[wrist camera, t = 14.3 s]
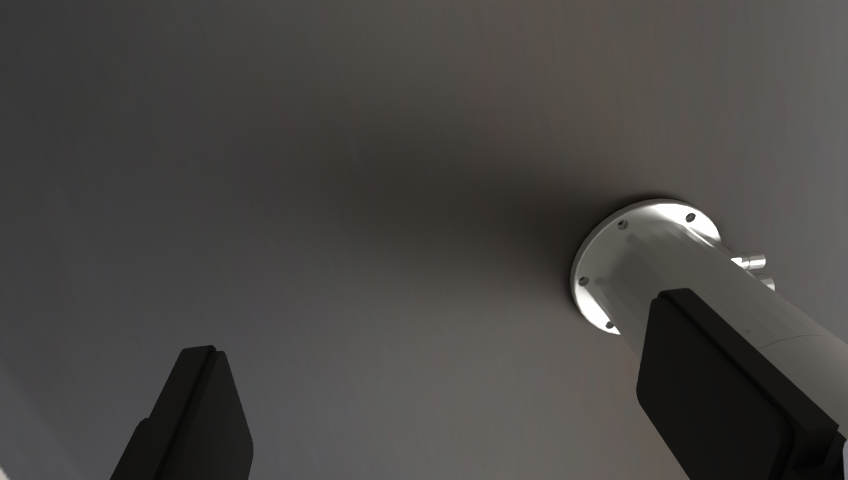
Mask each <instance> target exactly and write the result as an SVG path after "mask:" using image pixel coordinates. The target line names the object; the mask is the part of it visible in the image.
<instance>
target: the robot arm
mask: <svg viewBox="0 0 848 480" xmlns="http://www.w3.org/2000/svg"><path fill="white" fill-rule="evenodd" d="M764 265H765V257H764V255H763V254H762V253H761V252H759V251H754V252H745V253H741V254H734V253H733V252H732V251H730V250H729V249H727V248H726V247H725V246H723V245H722V244H721V238H720V235H719V233H718V230H717V228H716V226H715V225H714V224H713V222H712V221H711V220H710V218H709V217H708V216H706V215H705V214H704V213H702V212H701V211H700V210H698V209H697V208H695V207H693V206H691V205H690V204H688V203H685V202H682V201H678V200H675V199H662V198H660V199H651V200H645V201H641V202H638V203H634V204H631V205H629V206H627V207H624V208H622V209H620V210H618V211H616V212H615V213H613V214H612V215H610V216H609V217H607V218H606V219H604V220H603V221H602V222H601V223H600V224H599V225H598V226H597V227H596V228H594V229H593V230H592V232H591V233H590V234H589V235H588V237H587V238H586V239H585V240H584V242H583V243H582V245H581V247H580V248H579V250H578V252H577V254H576V256H575V259H574V262H573V265H572V269H571V276H570V286H571V293H572V296H573V299H574V302H575V304H576V305H577V307H578V309H579V310H580V312H581V313H582V314H583V316H584V317H585V318H586V319H587V320H588V321H589V322H590V323H591V324H593V325H594V326H595V327H597V328H599V329H601V330H603V331H606V332H609V333H614V334H618V335H621V336H622V337H623V338H624V340H625V341H626V342H627V344H628V345H629V346H630V348H631V349H632V350H633V352H634V353H635V354H636V356H637V357H638V358H639V360H640V361H641V364H640V370H639V376H638V382H637V388H636V392H637V398H638V401H639V403H640V405H641V407H642V408H643V410H644V411H645V413H646V414H647V416H648V417H649V419H650V420H651V422H652V423H653V425H654V426H655V428H656V429H657V431H658V432H659V434H660V435H661V437H662V438H663V440H664V441H665V443H666V444H667V446H668V447H669V449H670V450H671V452H672V453H673V455H674V456H675V458H676V459H677V461H678V462H679V464H680V465H681V467H682V468H683V470H684V471H685V473H686V474H687V476H688V477H689V479H690V480H848V345H847V344H845V343H844V342H843V341H841V340H840V339H839V338H837V337H836V336H834V335H833V334H832V333H830V332H829V331H828V330H826V329H825V328H824V327H822V326H821V325H820V324H818V323H817V322H816V321H814V320H813V319H811V318H810V317H809V316H807V315H806V314H805V313H803V312H802V311H801V310H799V309H798V308H797V307H795V306H794V305H793V304H791V303H790V302H788V301H787V300H786V299H784V298H783V297H782V296H780V295H779V294H778V293H776V292H775V291H774V282H773V280H772V278H771V277H770V276H769V275H768V274H766V273H760V274H751V273H749V272H748V271H746V270H749V269H758V268H762V267H764ZM252 459H253V441H252V438H251V434H250V431H249V428H248V425H247V421H246V418H245V415H244V412H243V409H242V405H241V402H240V399H239V396H238V392H237V389H236V386H235V383H234V379H233V376H232V373H231V370H230V367H229V363H228V360H227V357H226V354H225V353H224V351H217V350H216V348H215V347H214V346H212V345H208V346H200V347H192V348H185V349H183V350H182V351H181V353H180V355H179V357H178V359H177V361H176V363H175V365H174V367H173V369H172V371H171V373H170V375H169V377H168V379H167V381H166V384H165V386H164V388H163V390H162V392H161V394H160V396H159V398H158V400H157V402H156V404H155V406H154V408H153V410H152V412H151V414H150V416H149V418H145V419H143V420H142V421H141V422H140V423H139V424H138V426H137V427H136V429H135V431H134V433H133V435H132V437H131V439H130V441H129V443H128V445H127V447H126V449H125V451H124V453H123V455H122V457H121V459H120V461H119V463H118V465H117V467H116V469H115V471H114V472H113V474H112V476H111V478H110V480H248V477H249V473H250V468H251V464H252Z"/></svg>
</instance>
